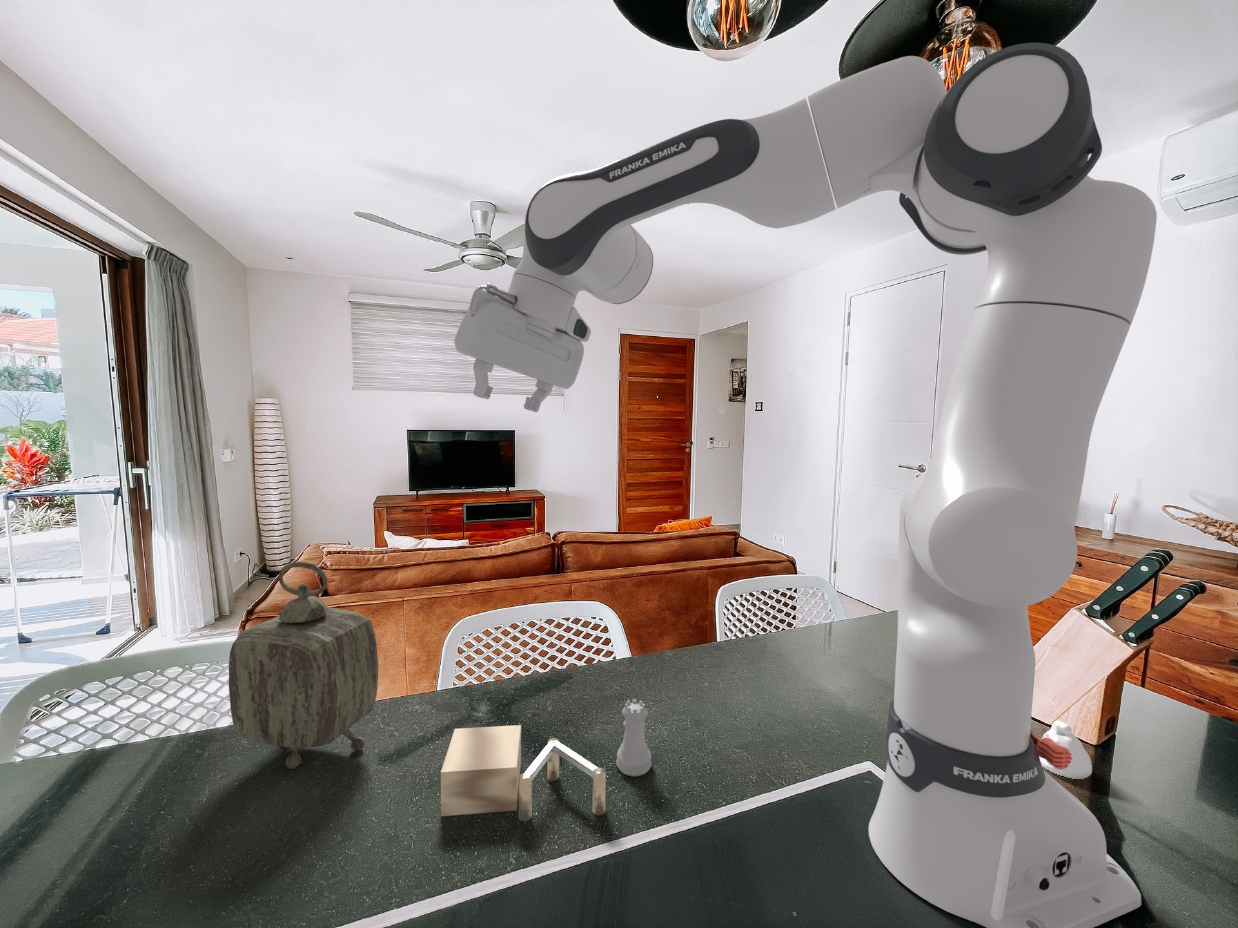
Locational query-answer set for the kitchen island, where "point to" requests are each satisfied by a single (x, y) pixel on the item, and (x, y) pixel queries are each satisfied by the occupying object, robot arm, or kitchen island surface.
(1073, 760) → the garlic bulb
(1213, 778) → the kitchen island surface
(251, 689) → the tabletop clock
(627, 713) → the rook chess piece
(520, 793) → the railing
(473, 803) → the pedestal
